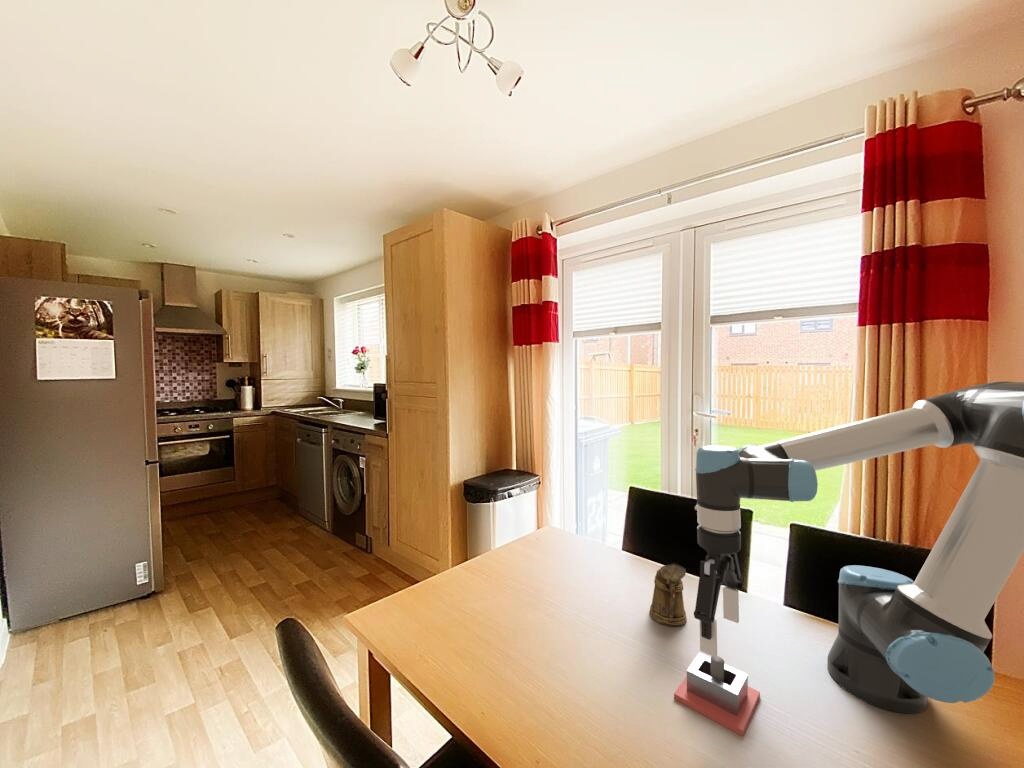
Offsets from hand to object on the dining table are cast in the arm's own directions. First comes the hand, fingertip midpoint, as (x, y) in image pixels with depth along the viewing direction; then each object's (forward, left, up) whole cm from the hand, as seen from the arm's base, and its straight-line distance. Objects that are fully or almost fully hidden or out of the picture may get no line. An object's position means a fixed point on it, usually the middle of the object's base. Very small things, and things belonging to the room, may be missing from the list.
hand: (720, 635), depth 79 cm
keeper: (0, 0, -12) cm, 12 cm away
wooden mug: (+17, -18, -13) cm, 28 cm away
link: (0, 0, -11) cm, 11 cm away
